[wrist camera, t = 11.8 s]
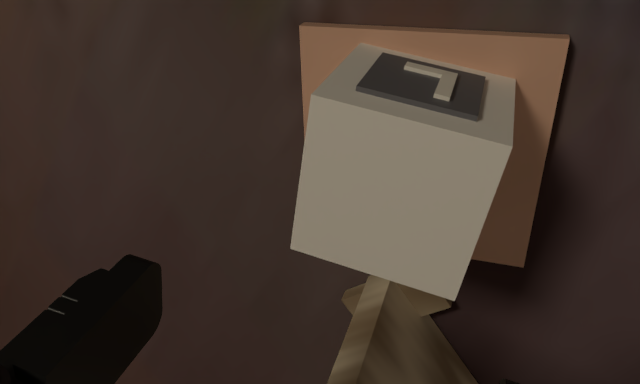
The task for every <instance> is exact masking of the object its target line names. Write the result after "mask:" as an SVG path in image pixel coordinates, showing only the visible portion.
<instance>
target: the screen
mask: <svg viewBox="0 0 640 384" xmlns="http://www.w3.org/2000/svg"><path fill="white" fill-rule="evenodd" d="M342 302H343V303H344V304H345V306H346V307H347V308H348V310H349V311H350V312H351V314H352V315H353V318H352V320H351V323H350V325H349V328H348V331H347V333H346V336H345V338H344V341H343V344H342V346H341V349H340V351H339V354H338V357H337V359H336V362H335V364H334V367H333V369H332V372H331V375H330V377H329V380H328V382H327V384H478V383H477V381H476V380H475V378H474V377H473V376H472V374H471V373H470V371H469V370H468V369H467V367H466V366H465V364H464V363H463V362H462V360H461V359H460V357H459V356H458V355H457V353H456V352H455V350H454V349H453V348H452V346H451V345H450V343H449V342H448V341H447V339H446V338H445V336H444V335H443V334H442V332H441V331H440V329H439V328H438V327H437V325H436V324H435V322H434V321H433V319H432V318H431V317H430V315H429V314H432V313H435V312H438V311H441V310H445V309H448V308H451V305H452V300H449V299H446V298H443V297H440V296H437V295H433V294H430V293H427V292H424V291H421V290H418V289H415V288H412V287H408V286H405V285H402V284H399V283H396V282H393V281H390V280H387V279H384V278H380V277H377V276H374V275H371V276H368V279H367V281H366V283H364V284H361V285H359V286H356V287H353V288H351V289H348V290H345V293H344V295H343V297H342Z"/></svg>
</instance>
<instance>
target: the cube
mask: <svg viewBox="0 0 640 384" xmlns="http://www.w3.org/2000/svg"><path fill="white" fill-rule="evenodd" d="M515 85H516V79H513V78H509V77H505V76H501V75H496V74H492V73H488V72H484V71H479V70H475V69H471V68H467V67H462V66H458V65H454V64H450V63H445V62H441V61H437V60H433V59H428V58H424V57H420V56H416V55H411V54H407V53H403V52H399V51H394V50H390V49H386V48H382V47H377V46H373V45H369V44H365V43H360V44H359V45H358V46H357V47H356V48H355V49H354V50H353V51H352V52H351V53H350V54H349V55H348V56H347V57H346V58H345V59H344V61H343V62H342V63H341V64H340V65H339V66H338V67H337V68H336V69H335V70H334V71H333V72H332V73H331V74H330V75H329V76H328V77H327V78H326V79H325V80H324V81H323V82H322V83H321V85H320V86H319V87H318V88H317V89H316V90H315V91H314V92H313V93H312V94H311V99H310V106H309V113H308V121H307V128H306V136H305V143H304V150H303V158H302V165H301V173H300V180H299V187H298V195H297V202H296V210H295V217H294V224H293V232H292V239H291V247H290V249H293V250H296V251H299V252H302V253H305V254H309V255H312V256H315V257H318V258H321V259H324V260H327V261H330V262H334V263H337V264H340V265H343V266H346V267H349V268H352V269H355V270H359V271H362V272H365V273H368V274H371V275H374V276H377V277H380V278H384V279H387V280H390V281H393V282H396V283H399V284H402V285H405V286H408V287H412V288H415V289H418V290H421V291H424V292H427V293H430V294H433V295H437V296H440V297H443V298H446V299H449V300H452V301H455V299H456V297H457V294H458V291H459V289H460V286H461V283H462V281H463V278H464V275H465V273H466V270H467V267H468V265H469V262H470V259H471V257H472V254H473V251H474V249H475V246H476V243H477V241H478V238H479V235H480V233H481V230H482V227H483V225H484V222H485V219H486V217H487V214H488V211H489V209H490V206H491V203H492V201H493V198H494V195H495V193H496V190H497V187H498V185H499V182H500V179H501V177H502V174H503V171H504V169H505V166H506V163H507V161H508V158H509V155H510V153H511V150H512V147H513V129H514V107H515Z"/></svg>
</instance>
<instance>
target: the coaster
mask: <svg viewBox="0 0 640 384" xmlns="http://www.w3.org/2000/svg"><path fill="white" fill-rule="evenodd" d="M299 30H300V51H301V73H302V94H303V116H304V137H305V136H306V128H307V121H308V113H309V106H310V99H311V94H312V93H313V92H314V91H315V90H316V89H317V88H318V87H319V86H320V85H321V83H322V82H323V81H324V80H325V79H326V78H327V77H328V76H329V75H330V74H331V73H332V72H333V71H334V70H335V69H336V68H337V67H338V66H339V65H340V64H341V63H342V62H343V61H344V59H345V58H346V57H347V56H348V55H349V54H350V53H351V52H352V51H353V50H354V49H355V48H356V47H357V46H358V45H359V44H360V43H365V44H369V45H373V46H377V47H382V48H386V49H390V50H394V51H399V52H403V53H407V54H411V55H416V56H420V57H424V58H428V59H433V60H437V61H441V62H445V63H450V64H454V65H458V66H462V67H467V68H471V69H475V70H479V71H484V72H488V73H492V74H496V75H501V76H505V77H509V78H513V79H516V85H515V107H514V129H513V147H512V150H511V153H510V155H509V158H508V161H507V163H506V166H505V169H504V171H503V174H502V177H501V179H500V182H499V185H498V187H497V190H496V193H495V195H494V198H493V201H492V203H491V206H490V209H489V211H488V214H487V217H486V219H485V222H484V225H483V227H482V230H481V233H480V235H479V238H478V241H477V243H476V246H475V249H474V251H473V254H472V257H471V259H473V260H480V261H486V262H492V263H498V264H504V265H510V266H516V267H523V268H524V263H525V258H526V253H527V248H528V243H529V238H530V234H531V229H532V224H533V219H534V214H535V209H536V204H537V199H538V194H539V189H540V184H541V179H542V174H543V169H544V164H545V160H546V155H547V150H548V145H549V140H550V135H551V130H552V125H553V120H554V115H555V110H556V105H557V100H558V95H559V90H560V86H561V81H562V76H563V71H564V66H565V61H566V56H567V51H568V46H569V41H570V37H569V35H564V34H542V33H521V32H500V31H479V30H458V29H436V28H415V27H394V26H373V25H352V24H330V23H309V22H304V23H303V24H301V25H300V26H299Z"/></svg>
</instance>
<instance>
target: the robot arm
mask: <svg viewBox="0 0 640 384" xmlns="http://www.w3.org/2000/svg"><path fill="white" fill-rule="evenodd" d="M161 315H162V277H161V266H160V265H159V264H158V263H155V262H152V261H149V260H146V259H143V258H140V257H137V256H134V255H131V254H129V255H126V256H124V257H123V258H122V259H121V260H120V261H119V262H118V263H117V264H116V265H115V266H114V267H113V268H111V269H110V270H109V271H108V270H105V269H102V268H100V269H98V270H96V271H94V272H92V273H90V274H88V275H86V276H84V277H82V278H80V279H78V280H77V281H76V282H75V283H74V284H73V285H72V286H71V287H69V288H68V289H67V290H66V291H65V292H64V293H63V294H62V296H61V298H60V297H58V298H57V299H56V300H55V301H54V302H53V303H52V304H51V305H50V306H49V307H48V310H44V311H43V312H42V313H41V314H40V315H39V316H38V317H37V318H35V319H34V320H33V321H32V322H31V323H30V324H29V325H28V326H27V327H26V328H25V329H23V330H22V331H21V332H20V333H19V334H18V335H17V336H16V337H15V338H14V339H12V340H11V341H10V342H9V343H8V344H7V345H6V346H5V347H4V348H3V349H2V350H0V384H114V383H115V382H116V381H117V380H118V378H119V377H120V376H121V375H122V373H123V372H124V371H125V370H126V368H127V367H128V366H129V364H130V363H131V362H132V361H133V359H134V358H135V357H136V356H137V354H138V353H139V352H140V351H141V349H142V348H143V347H144V346H145V344H146V343H147V342H148V341H149V339H150V338H151V337H152V335H153V334H154V332H155V331H156V329H157V327H158V325H159V322H160V319H161ZM499 384H519V383H516V382H513V381H510V380H507V379H504V378H503V379H502V380H501V381H500V383H499Z"/></svg>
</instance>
